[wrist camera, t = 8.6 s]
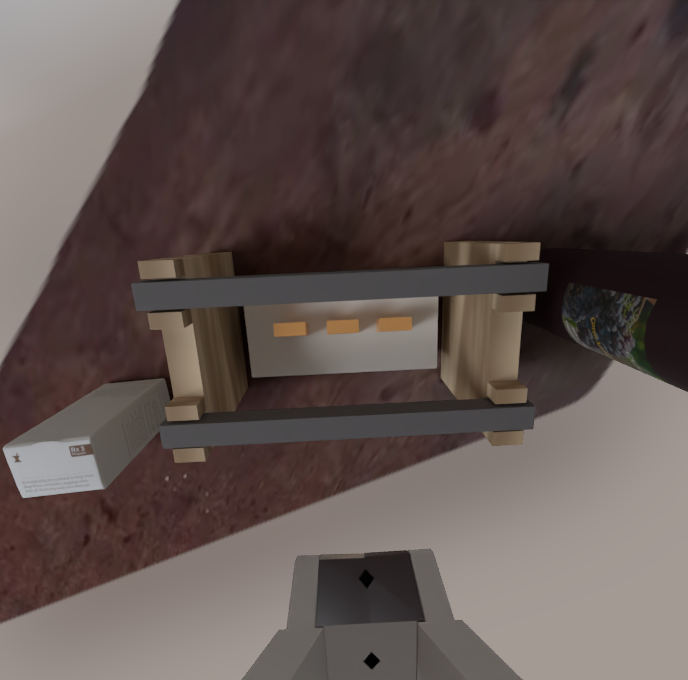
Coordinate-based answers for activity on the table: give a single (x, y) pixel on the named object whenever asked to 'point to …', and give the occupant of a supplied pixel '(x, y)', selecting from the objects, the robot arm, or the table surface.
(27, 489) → the skincare box
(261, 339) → the breaker strip
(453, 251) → the rack
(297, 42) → the table surface
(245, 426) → the grey bar
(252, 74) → the table surface
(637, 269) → the wine bottle
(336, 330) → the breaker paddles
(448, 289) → the long charcoal square rod
